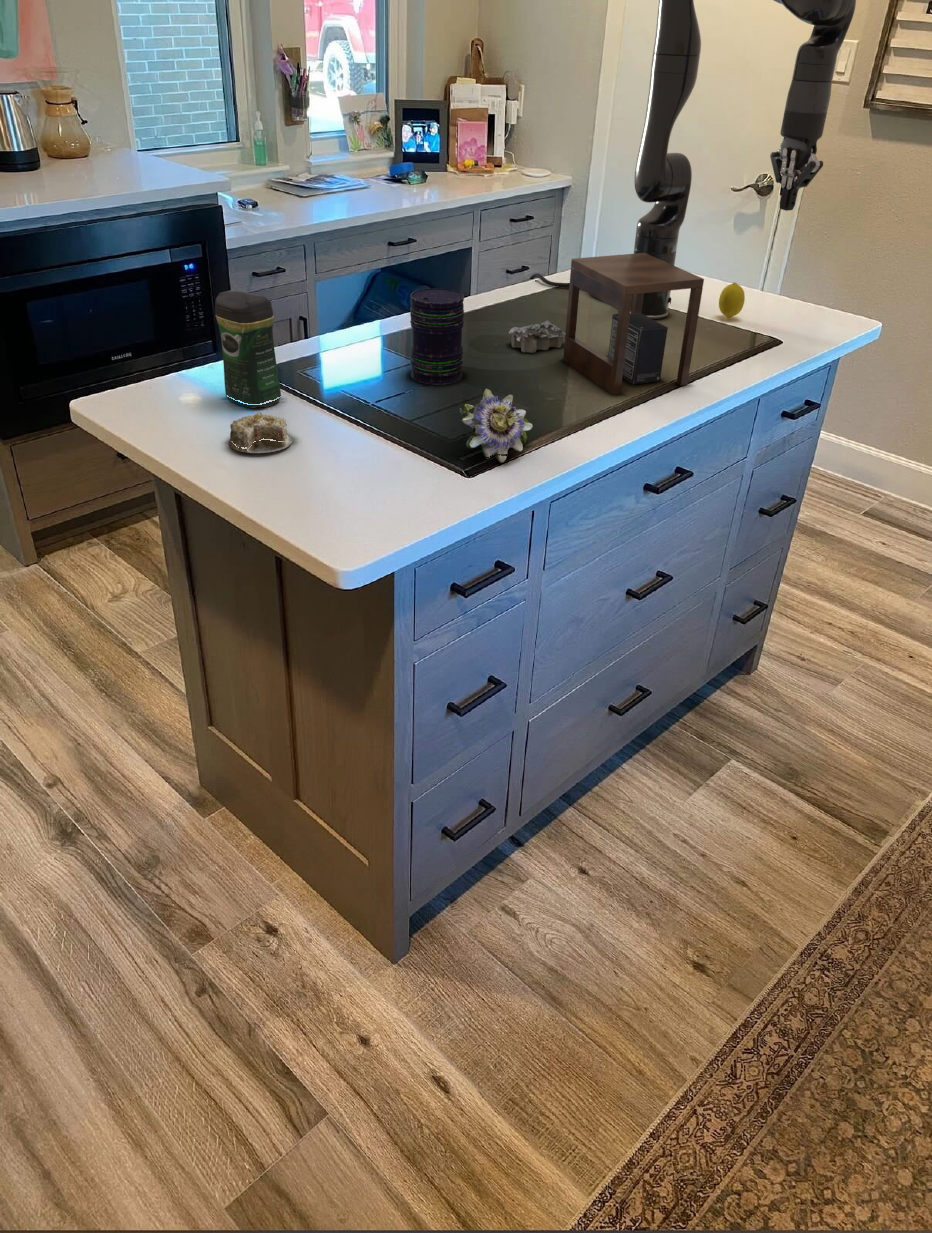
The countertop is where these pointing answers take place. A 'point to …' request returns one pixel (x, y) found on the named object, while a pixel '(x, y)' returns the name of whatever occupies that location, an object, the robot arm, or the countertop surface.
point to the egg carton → (537, 337)
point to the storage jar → (436, 335)
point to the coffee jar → (248, 348)
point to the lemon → (731, 300)
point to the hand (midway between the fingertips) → (786, 209)
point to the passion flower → (496, 425)
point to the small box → (641, 348)
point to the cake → (259, 434)
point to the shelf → (625, 309)
